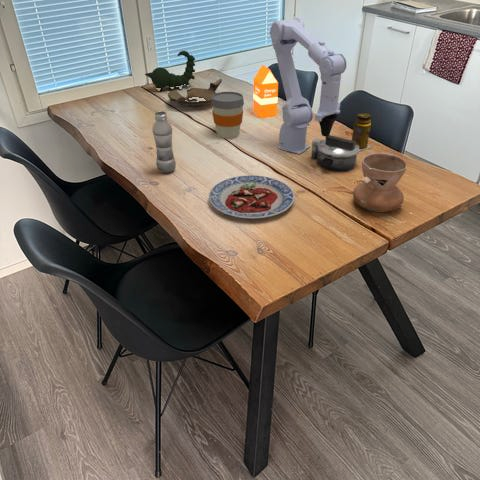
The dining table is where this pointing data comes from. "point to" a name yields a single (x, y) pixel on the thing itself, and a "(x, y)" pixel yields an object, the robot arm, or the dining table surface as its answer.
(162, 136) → the plastic bottle
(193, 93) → the oil lamp
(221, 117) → the reusable coffee cup
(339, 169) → the cooker body
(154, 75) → the toy figurine
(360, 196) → the brown clay hourglass vessel
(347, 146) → the cooker lid
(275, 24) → the robot arm
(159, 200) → the dining table surface
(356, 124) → the condiment
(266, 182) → the ceramic plate
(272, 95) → the orange juice
